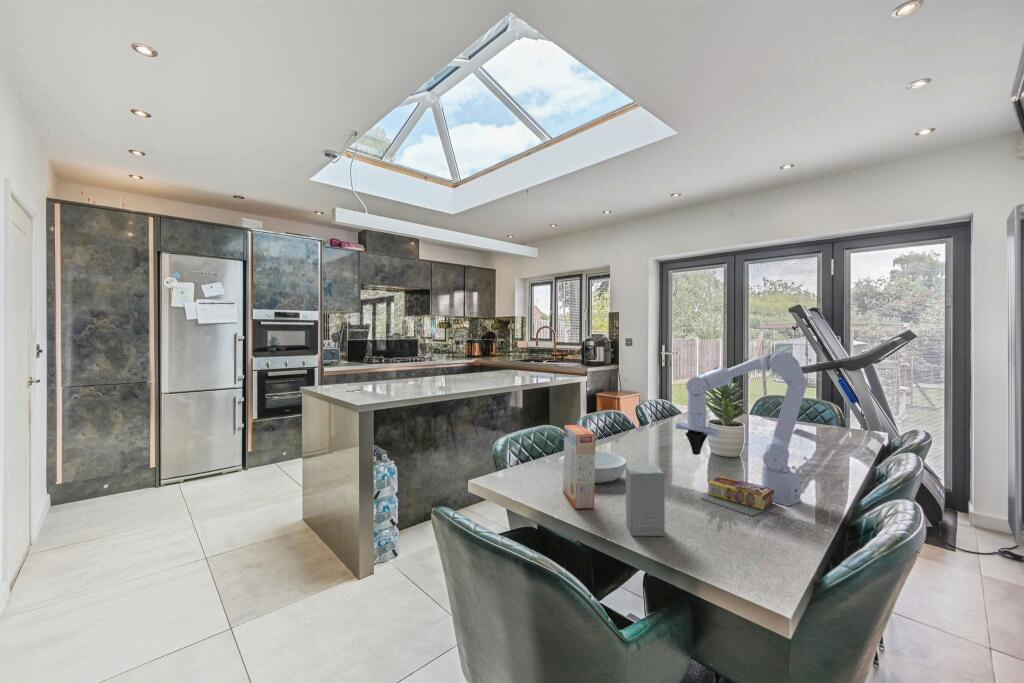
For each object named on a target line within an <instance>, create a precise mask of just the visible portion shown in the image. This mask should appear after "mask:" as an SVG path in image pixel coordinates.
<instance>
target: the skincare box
mask: <svg viewBox="0 0 1024 683" xmlns="http://www.w3.org/2000/svg"><path fill="white" fill-rule="evenodd" d="M665 475H666V474H665V472H664V471H663V469H661V468H660V466H659V465H658V464H639V465H638V464H626V467H625V520H626V522H625V524H626V527H627V530H628V531H629V533H630V536H632V537H647V536H648V537H665V532H666V529H665V525H666V524H665V520H666V519H665V516H666V515H665V508H666V507H665Z"/></svg>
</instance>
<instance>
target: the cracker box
mask: <svg viewBox="0 0 1024 683" xmlns="http://www.w3.org/2000/svg"><path fill="white" fill-rule="evenodd" d="M563 429H564V431H563V435H564V436H563V438H564V439H563V457H564V461H563V474H562V476H563V478H562V479H563V480H562V492H563V494H564V495H565V496H566V498H567V500H568V501H569V503H570V504H571V505H572V506H573V509H575V510H585V509H588V510H589V509H590V510H591V509H595V483H594V481H595V451H596V434H595V433H594V432H592V431H591V430H589V429H588V428H586V427H585V426H584V425H580V424H566V425H564V428H563Z"/></svg>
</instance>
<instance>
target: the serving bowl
mask: <svg viewBox="0 0 1024 683" xmlns="http://www.w3.org/2000/svg"><path fill="white" fill-rule="evenodd" d="M562 458H563V459H562V460H563V462H564V456H563V457H562ZM626 465H627V460H626V458H624V457H623V456H621V455H619V454H616V453H612V452H609V451H608V452H607V451H601V450H600V451H599V450H595V481H594V484H601V483H609V482H611V481H612V482H613V481H615V480H617V479H619V478H620V477H621V476H623V474H624V472H625V471H626Z"/></svg>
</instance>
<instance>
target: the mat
mask: <svg viewBox="0 0 1024 683" xmlns="http://www.w3.org/2000/svg"><path fill="white" fill-rule="evenodd" d="M700 499H701V500H703V501H706V502H709V503H711V504H715V505H718V506H720V507H723V508H725V509H729V510H731V511H734V512H737V513H739V514H743V515H746V516H749V517H755V516H758V515H760V514H762V513H764V512H766V511H769V510H773V509H774V508H776V507H778V506H779V504H776V503H774V502H773V503H771V504H770V505H769V506H767V507H766V508H764V509H763V510H762V509H758V508H754V507H751V506H747V505H744V504H740V503H737V502H733V501H729V500H726V499H722V498H719V497H715V496H712V495H705V496H703V497H700Z"/></svg>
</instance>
